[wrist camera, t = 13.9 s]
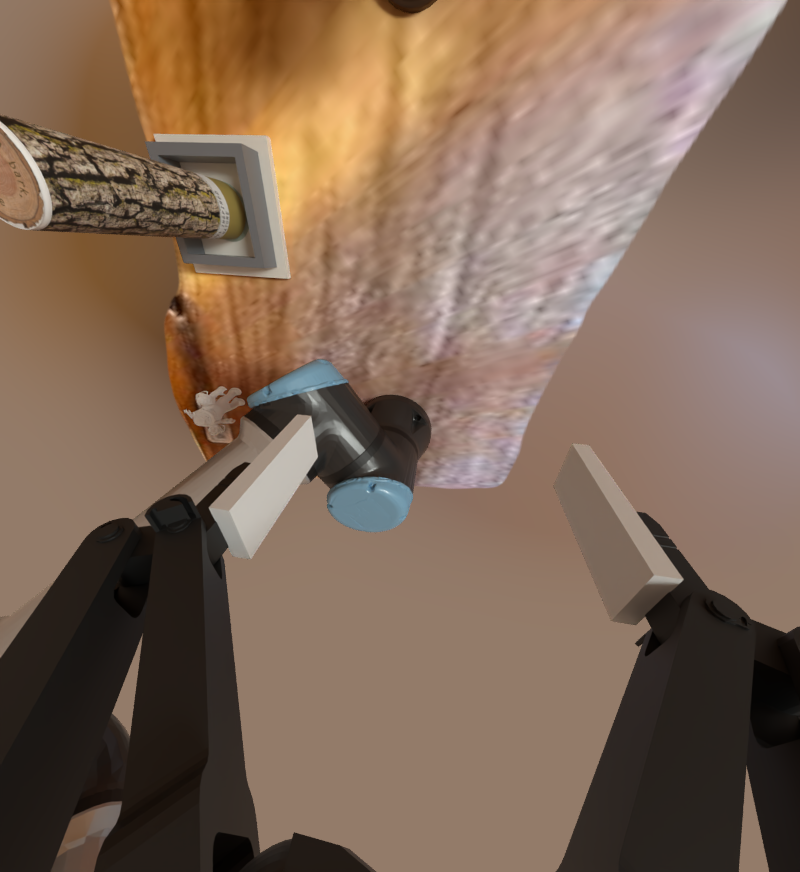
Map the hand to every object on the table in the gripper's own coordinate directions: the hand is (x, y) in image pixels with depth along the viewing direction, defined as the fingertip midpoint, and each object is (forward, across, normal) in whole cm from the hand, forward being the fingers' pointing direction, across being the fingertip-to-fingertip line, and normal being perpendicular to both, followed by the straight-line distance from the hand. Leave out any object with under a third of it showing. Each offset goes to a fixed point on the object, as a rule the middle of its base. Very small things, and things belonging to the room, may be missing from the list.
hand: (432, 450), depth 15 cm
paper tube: (+36, +33, -13) cm, 50 cm away
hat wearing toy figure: (+37, +42, +18) cm, 59 cm away
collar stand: (+37, +33, -12) cm, 51 cm away
